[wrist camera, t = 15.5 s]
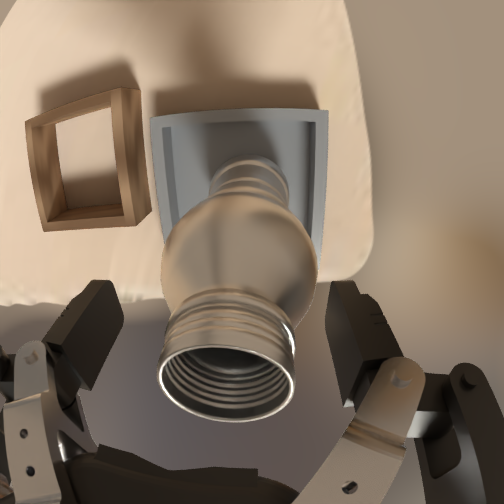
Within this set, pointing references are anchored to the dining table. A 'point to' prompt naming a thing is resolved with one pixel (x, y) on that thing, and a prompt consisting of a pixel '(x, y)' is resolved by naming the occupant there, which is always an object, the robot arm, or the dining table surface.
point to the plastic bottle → (236, 296)
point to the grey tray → (235, 144)
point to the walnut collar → (126, 154)
